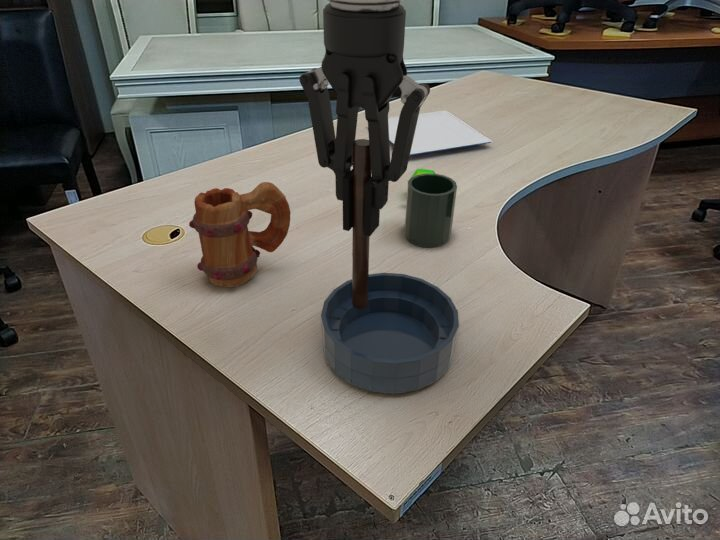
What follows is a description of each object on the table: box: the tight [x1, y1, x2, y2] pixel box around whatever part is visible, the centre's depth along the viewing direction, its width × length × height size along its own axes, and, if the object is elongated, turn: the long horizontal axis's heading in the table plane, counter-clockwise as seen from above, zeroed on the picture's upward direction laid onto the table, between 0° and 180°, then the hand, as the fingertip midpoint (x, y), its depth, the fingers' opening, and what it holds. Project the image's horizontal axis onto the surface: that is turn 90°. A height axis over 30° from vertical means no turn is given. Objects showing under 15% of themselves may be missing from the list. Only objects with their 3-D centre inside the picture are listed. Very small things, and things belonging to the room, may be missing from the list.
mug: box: [188, 181, 291, 288], centre depth 79 cm, size 15×8×15 cm, turn 108°
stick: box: [351, 138, 372, 309], centre depth 62 cm, size 2×2×22 cm
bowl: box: [320, 272, 460, 395], centre depth 68 cm, size 17×17×6 cm
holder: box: [404, 173, 458, 249], centre depth 90 cm, size 8×8×10 cm
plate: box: [388, 110, 493, 156], centre depth 129 cm, size 22×22×2 cm
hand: (361, 227), depth 61 cm, fingers closed on stick, 2 cm apart
